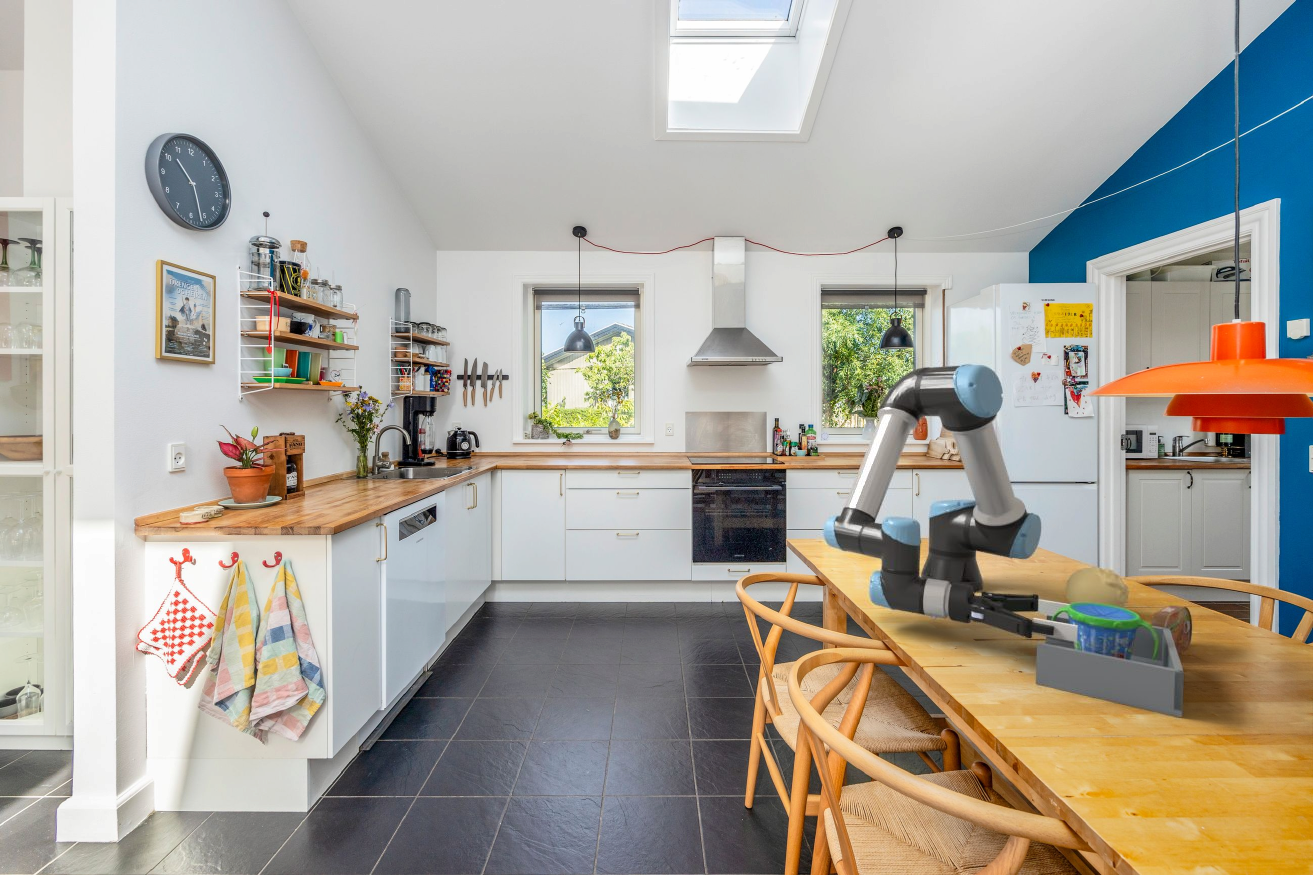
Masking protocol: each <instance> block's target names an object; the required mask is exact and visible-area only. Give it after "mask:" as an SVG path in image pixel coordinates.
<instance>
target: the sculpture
mask: <svg viewBox="0 0 1313 875" xmlns="http://www.w3.org/2000/svg"><path fill="white" fill-rule="evenodd" d="M1128 588H1129V586H1128V585H1127V584H1126V583H1125V582H1124V581H1123V578H1122V577H1121V576H1120V575H1118V574H1117V573H1115V572H1114V571H1113V570H1112V569H1109V568H1101V567H1098V566H1095V565H1092V566H1090V567H1088V568H1087V567H1086V568H1081V569H1078V570H1077V571H1073V573H1071V574H1070V576H1069V577H1068V579H1067V581H1066V585H1065V595H1066V598H1067V601H1068V604H1072V603H1081V602H1085V603H1099V604H1106V605H1111V606H1116V607H1120V608H1124V609H1126V604H1127V603H1128V599H1129V593H1130V591H1129V589H1128Z"/></svg>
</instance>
